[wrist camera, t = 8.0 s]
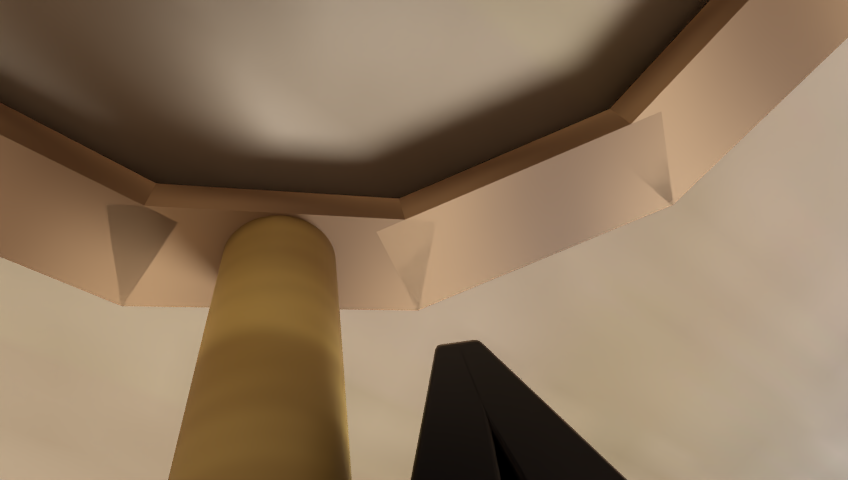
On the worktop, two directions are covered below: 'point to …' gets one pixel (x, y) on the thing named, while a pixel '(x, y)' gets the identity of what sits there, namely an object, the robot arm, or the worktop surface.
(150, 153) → the worktop surface
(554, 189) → the brown ring with post
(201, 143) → the worktop surface
